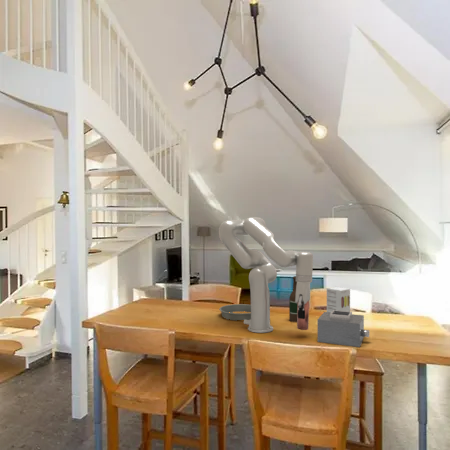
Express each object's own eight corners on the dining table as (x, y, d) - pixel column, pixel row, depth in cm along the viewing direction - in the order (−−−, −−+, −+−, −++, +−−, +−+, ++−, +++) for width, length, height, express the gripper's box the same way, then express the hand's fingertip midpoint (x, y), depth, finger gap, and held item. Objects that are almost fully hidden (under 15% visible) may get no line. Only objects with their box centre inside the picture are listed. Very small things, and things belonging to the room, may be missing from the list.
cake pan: (270, 319, 213) (270, 311, 213) (229, 323, 204) (229, 315, 204) (250, 309, 236) (250, 302, 236) (213, 313, 227) (213, 305, 227)
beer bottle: (302, 318, 212) (301, 275, 212) (305, 322, 204) (305, 277, 204) (288, 318, 212) (287, 275, 212) (290, 322, 204) (290, 277, 204)
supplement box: (340, 322, 205) (340, 290, 205) (326, 318, 212) (325, 288, 212) (350, 319, 211) (350, 288, 211) (336, 315, 218) (336, 286, 218)
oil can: (295, 328, 178) (296, 296, 178) (298, 326, 183) (299, 294, 183) (306, 330, 176) (307, 298, 176) (309, 327, 181) (310, 296, 180)
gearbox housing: (317, 341, 172) (317, 315, 171) (324, 332, 186) (324, 307, 186) (367, 348, 163) (367, 319, 162) (370, 337, 177) (370, 311, 177)
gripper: (300, 275, 188) (299, 312, 189) (291, 280, 173) (290, 320, 173) (315, 276, 185) (314, 314, 186) (307, 281, 170) (306, 322, 170)
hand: (302, 316), depth 179 cm, fingers closed on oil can, 5 cm apart
